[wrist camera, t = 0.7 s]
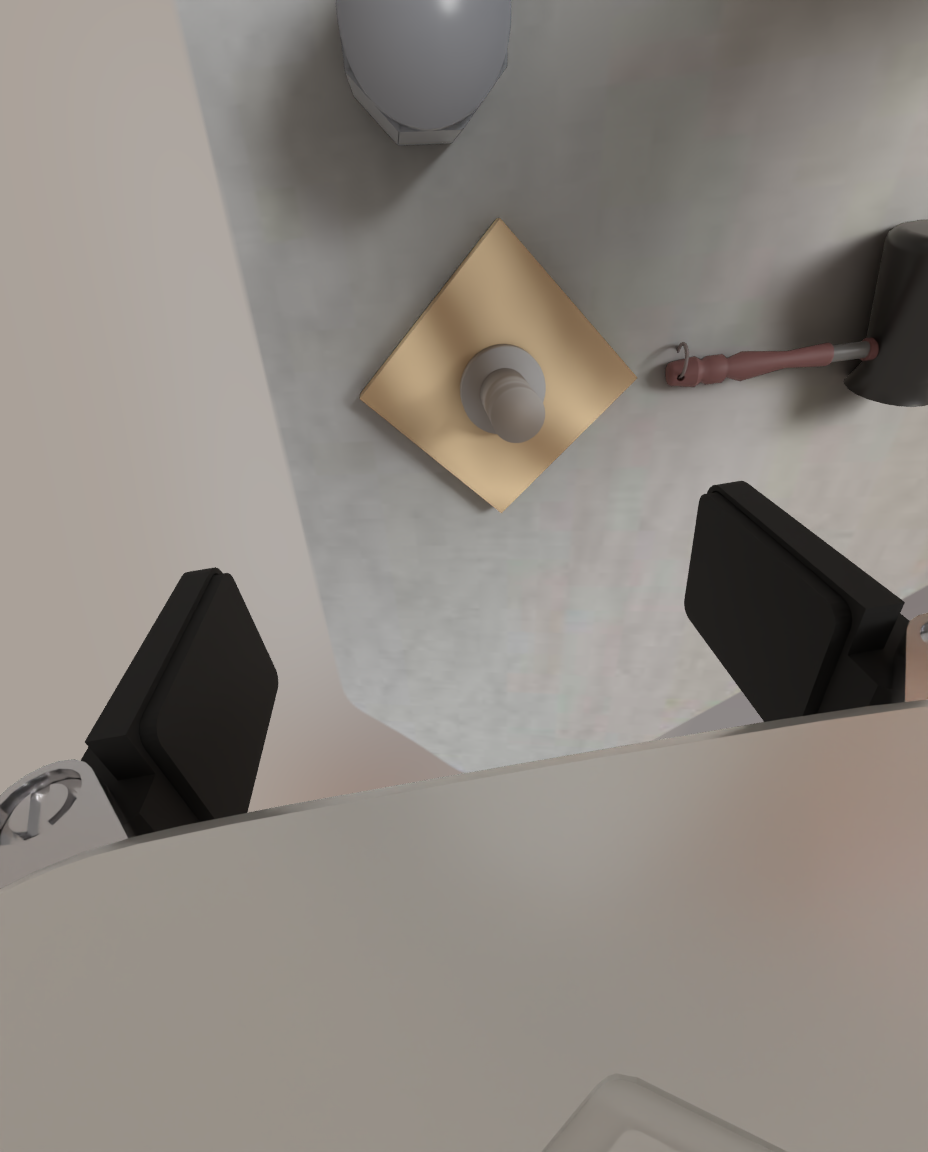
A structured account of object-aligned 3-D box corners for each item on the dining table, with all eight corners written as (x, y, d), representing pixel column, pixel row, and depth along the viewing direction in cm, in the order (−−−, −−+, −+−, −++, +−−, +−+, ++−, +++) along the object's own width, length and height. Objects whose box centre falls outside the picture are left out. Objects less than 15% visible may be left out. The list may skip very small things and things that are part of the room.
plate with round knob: (496, 218, 28) (521, 219, 22) (630, 373, 33) (677, 404, 28) (360, 393, 32) (353, 429, 27) (498, 505, 38) (516, 555, 32)
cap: (408, -100, 21) (412, -190, 17) (516, 50, 24) (546, 10, 20) (318, 57, 24) (299, 17, 19) (427, 178, 27) (434, 170, 22)
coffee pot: (998, 216, 30) (913, 365, 36) (681, 220, 31) (648, 366, 36) (1113, 246, 25) (991, 416, 31) (725, 250, 25) (678, 417, 31)
